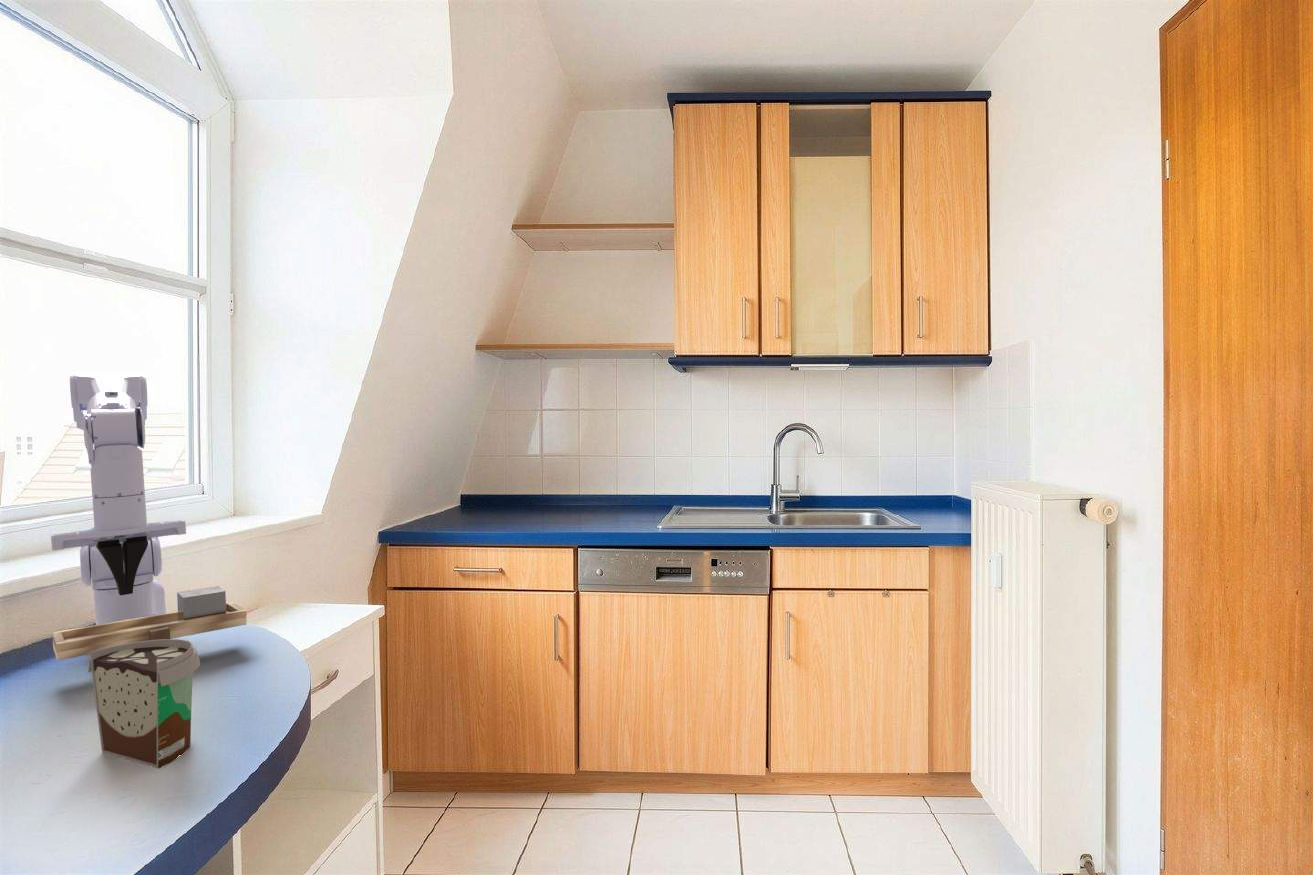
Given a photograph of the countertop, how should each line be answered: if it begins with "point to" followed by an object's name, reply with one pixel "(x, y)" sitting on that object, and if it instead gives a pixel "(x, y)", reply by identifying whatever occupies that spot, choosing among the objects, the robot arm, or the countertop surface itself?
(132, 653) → the food container
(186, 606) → the block
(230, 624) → the beam
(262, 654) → the countertop surface
